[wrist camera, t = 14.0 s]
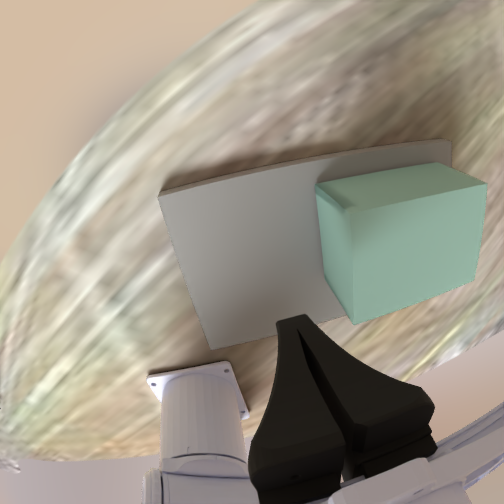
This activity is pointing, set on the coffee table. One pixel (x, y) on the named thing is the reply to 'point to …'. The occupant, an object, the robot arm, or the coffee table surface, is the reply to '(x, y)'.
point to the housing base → (267, 238)
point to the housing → (399, 236)
